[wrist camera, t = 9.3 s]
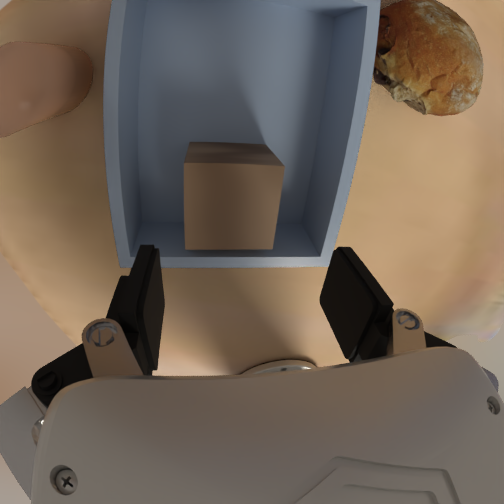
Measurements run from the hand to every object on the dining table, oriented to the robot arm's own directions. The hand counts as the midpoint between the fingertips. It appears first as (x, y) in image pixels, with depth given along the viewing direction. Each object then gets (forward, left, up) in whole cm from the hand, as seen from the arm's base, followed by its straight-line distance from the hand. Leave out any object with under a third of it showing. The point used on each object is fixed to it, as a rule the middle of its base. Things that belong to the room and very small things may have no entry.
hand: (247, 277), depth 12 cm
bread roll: (+13, -13, -10) cm, 21 cm away
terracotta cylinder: (+9, +12, -10) cm, 18 cm away
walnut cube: (+1, 0, -9) cm, 9 cm away
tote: (+6, 0, -10) cm, 11 cm away
